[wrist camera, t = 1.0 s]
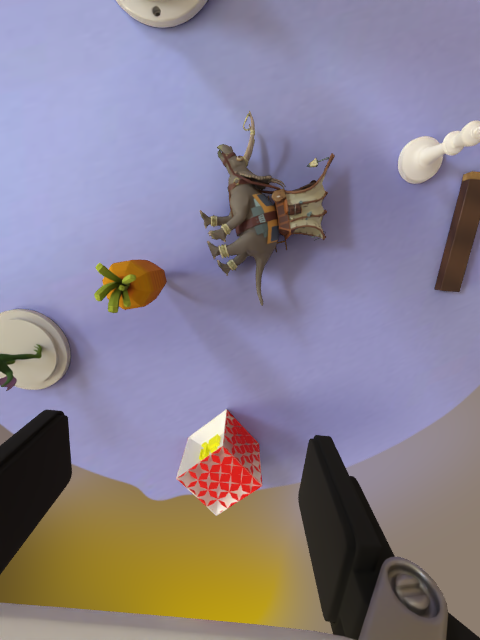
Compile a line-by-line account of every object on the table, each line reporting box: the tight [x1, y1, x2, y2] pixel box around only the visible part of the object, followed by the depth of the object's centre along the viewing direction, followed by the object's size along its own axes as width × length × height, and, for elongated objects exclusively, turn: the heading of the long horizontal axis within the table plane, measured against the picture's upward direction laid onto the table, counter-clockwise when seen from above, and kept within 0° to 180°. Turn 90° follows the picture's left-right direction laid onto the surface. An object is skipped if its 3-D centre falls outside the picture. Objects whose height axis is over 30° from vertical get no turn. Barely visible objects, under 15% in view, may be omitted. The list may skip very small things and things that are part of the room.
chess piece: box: [398, 121, 480, 184], centre depth 27 cm, size 5×5×10 cm
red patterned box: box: [176, 409, 262, 516], centre depth 39 cm, size 8×8×8 cm
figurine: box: [200, 111, 335, 306], centre depth 31 cm, size 20×6×17 cm
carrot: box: [94, 260, 167, 313], centre depth 29 cm, size 5×5×15 cm
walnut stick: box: [435, 171, 480, 292], centre depth 34 cm, size 14×3×1 cm, turn 176°
